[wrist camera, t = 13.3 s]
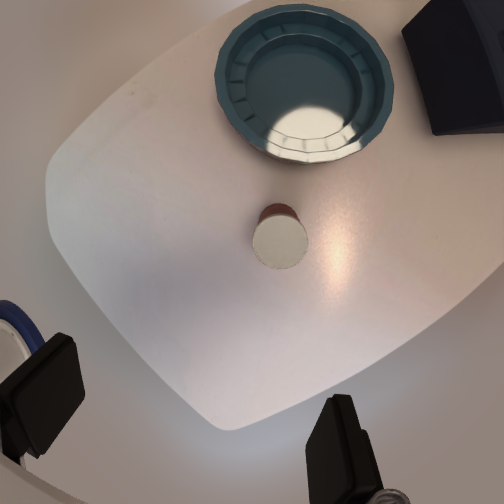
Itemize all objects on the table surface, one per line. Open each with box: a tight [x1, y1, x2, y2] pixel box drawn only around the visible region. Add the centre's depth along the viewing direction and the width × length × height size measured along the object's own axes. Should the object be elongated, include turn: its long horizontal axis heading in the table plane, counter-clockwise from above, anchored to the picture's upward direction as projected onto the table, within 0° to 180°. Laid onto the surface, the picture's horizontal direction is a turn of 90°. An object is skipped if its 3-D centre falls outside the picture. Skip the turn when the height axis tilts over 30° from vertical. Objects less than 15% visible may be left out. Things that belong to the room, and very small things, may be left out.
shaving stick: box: [253, 203, 308, 269], centre depth 26 cm, size 4×4×9 cm
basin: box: [214, 4, 394, 165], centre depth 24 cm, size 15×15×6 cm
